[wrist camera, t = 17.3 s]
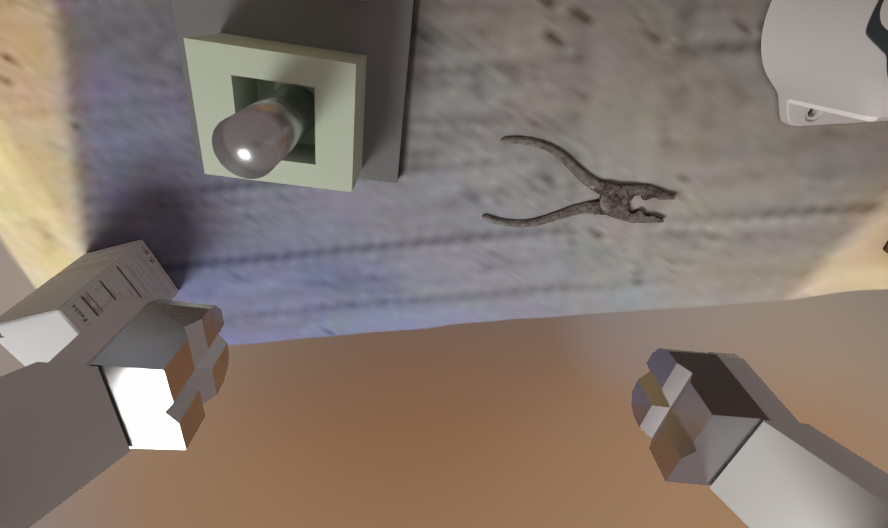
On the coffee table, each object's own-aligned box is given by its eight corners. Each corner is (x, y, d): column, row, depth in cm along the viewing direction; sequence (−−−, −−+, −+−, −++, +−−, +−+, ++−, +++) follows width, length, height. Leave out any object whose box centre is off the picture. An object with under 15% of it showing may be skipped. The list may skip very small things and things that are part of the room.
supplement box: (125, 304, 50) (42, 386, 39) (83, 251, 46) (-22, 327, 36) (182, 291, 49) (112, 372, 39) (144, 237, 46) (55, 309, 35)
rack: (366, 55, 36) (355, 64, 31) (361, 168, 41) (351, 192, 36) (219, 32, 35) (183, 37, 30) (233, 152, 40) (204, 173, 35)
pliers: (484, 138, 40) (693, 132, 41) (483, 136, 41) (688, 129, 41) (482, 229, 46) (667, 223, 46) (481, 225, 46) (664, 220, 46)
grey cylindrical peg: (319, 88, 36) (275, 121, 26) (320, 135, 38) (278, 182, 28) (271, 81, 36) (207, 111, 26) (274, 128, 38) (216, 174, 28)
